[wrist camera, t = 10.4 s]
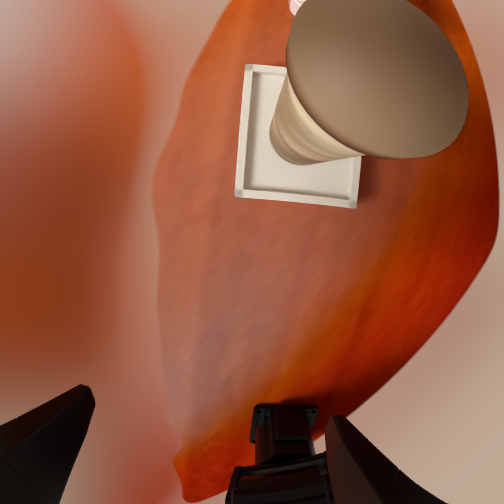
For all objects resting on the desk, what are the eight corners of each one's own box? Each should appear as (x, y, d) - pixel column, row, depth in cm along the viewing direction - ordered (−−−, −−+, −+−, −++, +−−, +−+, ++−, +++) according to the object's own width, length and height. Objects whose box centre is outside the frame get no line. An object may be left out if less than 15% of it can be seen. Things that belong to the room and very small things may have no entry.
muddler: (342, 161, 17) (485, 149, 5) (276, 175, 18) (327, 174, 5) (324, 96, 16) (428, -6, 4) (258, 109, 16) (263, -13, 4)
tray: (347, 205, 19) (355, 208, 18) (236, 194, 19) (234, 196, 17) (355, 88, 17) (364, 81, 15) (246, 73, 17) (245, 64, 15)
